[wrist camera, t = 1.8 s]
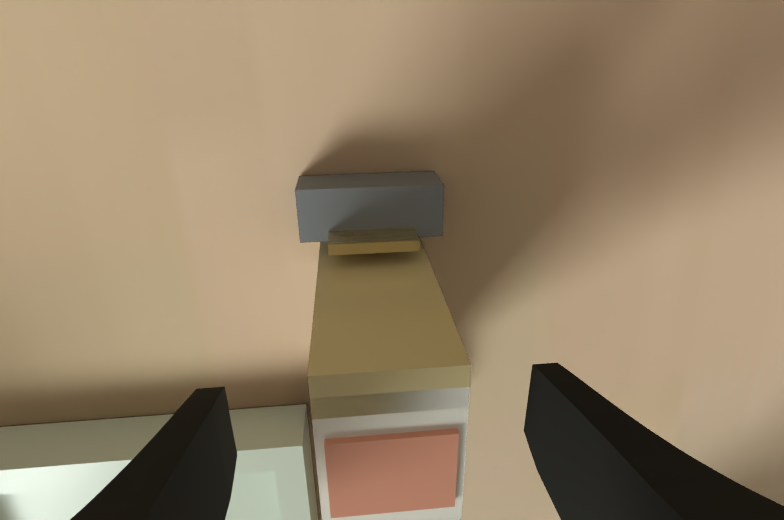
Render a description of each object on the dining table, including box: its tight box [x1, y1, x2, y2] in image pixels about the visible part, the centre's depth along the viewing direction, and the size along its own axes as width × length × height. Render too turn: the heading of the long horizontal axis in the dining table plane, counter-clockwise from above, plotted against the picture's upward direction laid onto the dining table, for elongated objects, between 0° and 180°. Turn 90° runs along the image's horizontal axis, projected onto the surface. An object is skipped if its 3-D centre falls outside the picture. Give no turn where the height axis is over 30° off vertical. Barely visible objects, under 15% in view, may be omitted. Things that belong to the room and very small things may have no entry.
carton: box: [307, 237, 471, 520], centre depth 13 cm, size 3×5×7 cm, turn 0°
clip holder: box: [295, 171, 444, 256], centre depth 15 cm, size 4×9×2 cm, turn 0°
